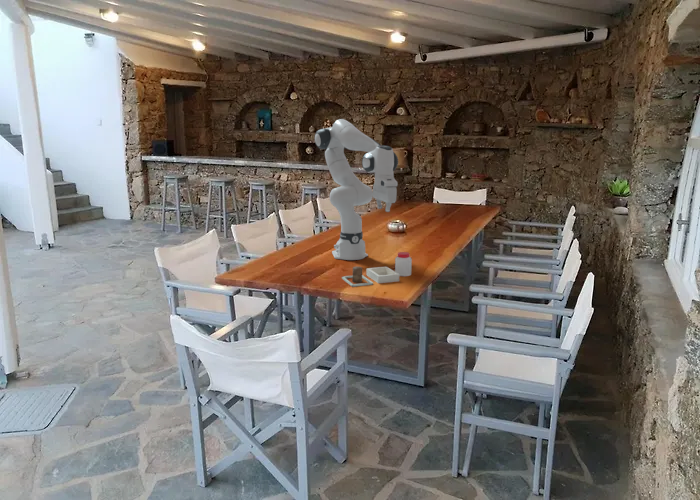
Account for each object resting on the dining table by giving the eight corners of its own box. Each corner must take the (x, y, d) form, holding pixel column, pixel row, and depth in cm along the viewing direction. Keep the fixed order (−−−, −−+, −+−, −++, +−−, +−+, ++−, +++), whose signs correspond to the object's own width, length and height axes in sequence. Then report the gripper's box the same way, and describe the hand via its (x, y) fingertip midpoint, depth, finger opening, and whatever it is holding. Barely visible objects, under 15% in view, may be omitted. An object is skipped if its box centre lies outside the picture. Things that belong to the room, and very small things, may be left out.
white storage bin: (366, 276, 254) (366, 268, 253) (386, 274, 257) (386, 266, 256) (378, 285, 241) (378, 276, 240) (399, 282, 244) (399, 274, 243)
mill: (350, 280, 245) (351, 266, 243) (359, 279, 246) (360, 266, 245) (354, 283, 241) (355, 269, 239) (363, 282, 243) (364, 268, 241)
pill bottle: (409, 273, 260) (410, 251, 257) (412, 277, 252) (412, 255, 249) (394, 273, 259) (394, 251, 257) (396, 277, 252) (396, 255, 249)
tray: (341, 279, 248) (341, 276, 248) (361, 277, 252) (361, 274, 251) (352, 288, 236) (352, 284, 235) (373, 286, 239) (373, 282, 239)
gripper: (369, 178, 259) (369, 207, 262) (386, 183, 240) (385, 213, 243) (381, 178, 261) (381, 206, 264) (399, 182, 242) (398, 213, 245)
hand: (383, 210), depth 253 cm, fingers open, 8 cm apart
